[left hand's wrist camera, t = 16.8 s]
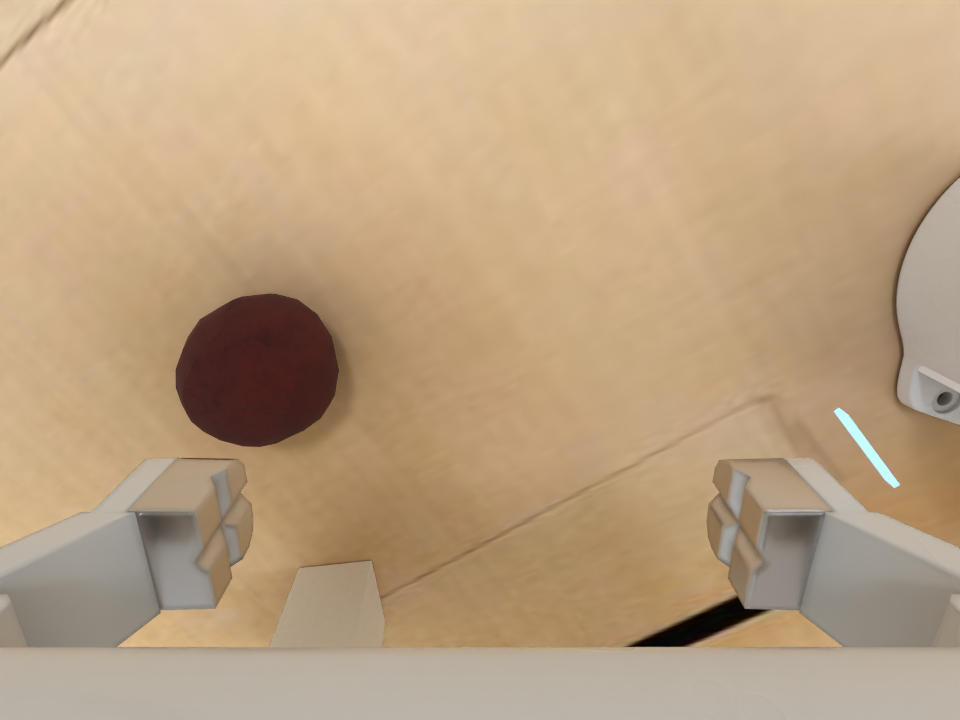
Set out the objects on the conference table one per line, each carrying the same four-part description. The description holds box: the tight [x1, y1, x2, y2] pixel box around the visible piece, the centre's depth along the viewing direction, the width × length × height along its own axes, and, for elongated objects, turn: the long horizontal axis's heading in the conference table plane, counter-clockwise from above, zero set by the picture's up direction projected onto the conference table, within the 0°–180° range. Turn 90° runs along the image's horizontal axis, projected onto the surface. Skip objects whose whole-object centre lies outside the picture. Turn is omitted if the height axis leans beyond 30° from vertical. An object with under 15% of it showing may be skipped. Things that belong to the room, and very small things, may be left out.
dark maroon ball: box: [176, 294, 339, 447], centre depth 29 cm, size 7×8×7 cm
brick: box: [269, 561, 385, 647], centre depth 34 cm, size 5×5×11 cm
